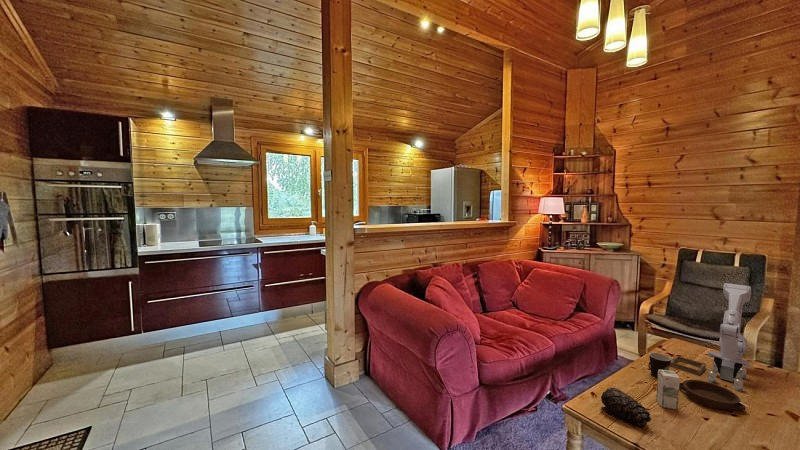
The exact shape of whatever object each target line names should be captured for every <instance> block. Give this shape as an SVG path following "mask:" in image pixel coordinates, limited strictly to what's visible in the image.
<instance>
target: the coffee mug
mask: <svg viewBox="0 0 800 450" xmlns="http://www.w3.org/2000/svg"><path fill="white" fill-rule="evenodd" d="M648 356H649V357H648V358H649V362H648V369H649V370H650V375H651V376H652V377H653V376H654V378H655V379H658V369H660V370H668V371H670V362H671V360H672V358H671V357H670V356H668V355H666V354H663V353H659V352H650V353H649V354H648Z"/></svg>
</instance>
